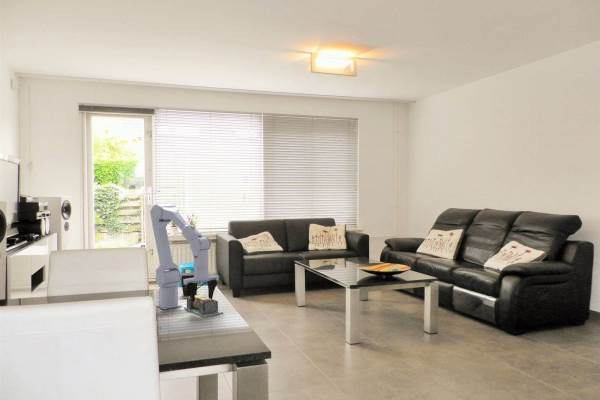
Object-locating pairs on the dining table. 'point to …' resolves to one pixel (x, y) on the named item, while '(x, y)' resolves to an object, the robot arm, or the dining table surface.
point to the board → (202, 314)
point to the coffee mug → (185, 291)
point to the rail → (201, 300)
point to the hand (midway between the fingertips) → (201, 300)
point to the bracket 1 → (190, 303)
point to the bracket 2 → (208, 307)
